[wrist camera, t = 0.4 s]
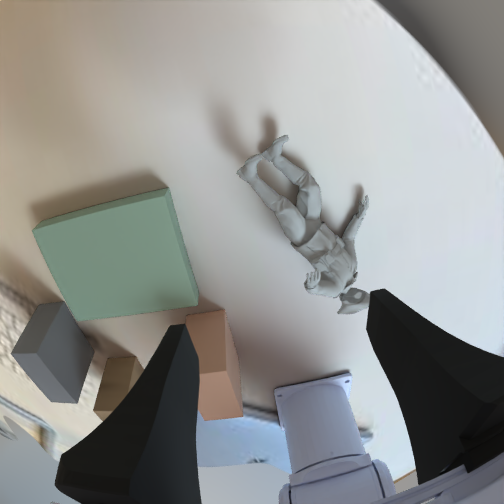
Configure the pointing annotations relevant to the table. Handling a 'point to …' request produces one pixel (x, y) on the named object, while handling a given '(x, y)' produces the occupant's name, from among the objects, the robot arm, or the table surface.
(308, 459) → the robot arm
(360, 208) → the soldier figure
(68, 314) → the charcoal brick
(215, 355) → the terracotta brick
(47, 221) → the sage board
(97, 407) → the walnut brick
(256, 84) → the table surface
